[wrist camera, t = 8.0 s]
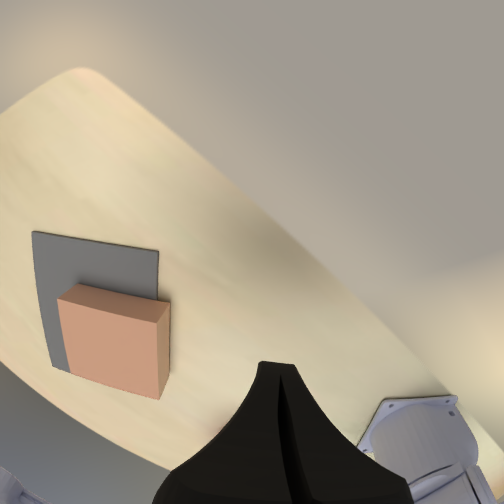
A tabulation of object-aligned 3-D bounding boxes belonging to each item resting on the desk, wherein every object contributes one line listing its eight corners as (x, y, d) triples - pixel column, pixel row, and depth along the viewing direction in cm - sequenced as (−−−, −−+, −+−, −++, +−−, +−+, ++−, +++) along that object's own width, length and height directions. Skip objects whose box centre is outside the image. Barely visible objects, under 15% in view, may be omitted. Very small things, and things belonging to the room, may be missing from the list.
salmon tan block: (156, 323, 18) (57, 298, 18) (159, 400, 20) (70, 373, 20) (170, 302, 22) (78, 282, 22) (169, 375, 24) (87, 353, 24)
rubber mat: (158, 251, 21) (157, 252, 21) (159, 397, 25) (159, 399, 25) (33, 230, 21) (31, 231, 21) (53, 364, 25) (52, 366, 25)
